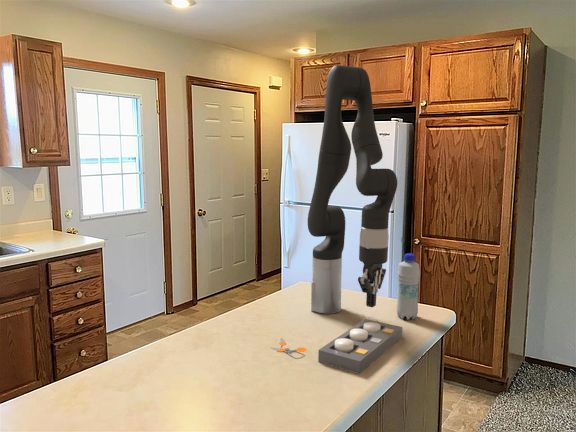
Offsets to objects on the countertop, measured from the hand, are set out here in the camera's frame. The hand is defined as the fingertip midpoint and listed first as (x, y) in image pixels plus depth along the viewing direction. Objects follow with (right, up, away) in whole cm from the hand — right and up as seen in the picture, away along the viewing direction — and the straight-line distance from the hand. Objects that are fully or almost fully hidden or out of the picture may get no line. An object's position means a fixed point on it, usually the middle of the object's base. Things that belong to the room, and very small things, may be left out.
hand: (370, 306), depth 130 cm
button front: (-9, -8, -12) cm, 17 cm away
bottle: (+14, -7, +17) cm, 23 cm away
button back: (0, -7, +1) cm, 7 cm away
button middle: (-4, -7, -6) cm, 10 cm away
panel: (-3, -10, -6) cm, 12 cm away
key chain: (-22, -10, -6) cm, 25 cm away
